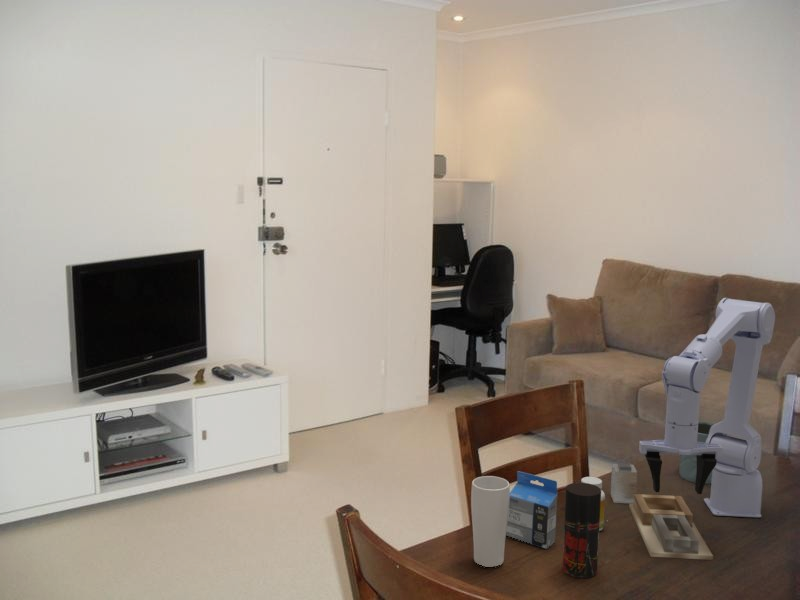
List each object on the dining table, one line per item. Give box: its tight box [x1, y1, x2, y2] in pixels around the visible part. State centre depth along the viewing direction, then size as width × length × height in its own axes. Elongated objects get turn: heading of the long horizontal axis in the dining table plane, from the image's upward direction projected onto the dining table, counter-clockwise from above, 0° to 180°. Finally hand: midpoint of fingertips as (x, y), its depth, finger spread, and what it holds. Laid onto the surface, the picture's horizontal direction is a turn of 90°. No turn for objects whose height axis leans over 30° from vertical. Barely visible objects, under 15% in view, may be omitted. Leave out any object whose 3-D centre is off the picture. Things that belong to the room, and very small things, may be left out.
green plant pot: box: [679, 420, 728, 485], centre depth 185 cm, size 10×10×12 cm
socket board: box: [628, 493, 714, 561], centre depth 157 cm, size 11×22×3 cm, turn 174°
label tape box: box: [506, 470, 558, 549], centre depth 153 cm, size 9×4×12 cm, turn 53°
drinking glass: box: [470, 475, 511, 568], centre depth 144 cm, size 7×7×15 cm
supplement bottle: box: [580, 476, 606, 532], centre depth 159 cm, size 5×5×10 cm
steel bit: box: [610, 462, 638, 504], centre depth 173 cm, size 4×4×8 cm
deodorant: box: [562, 482, 602, 579], centre depth 141 cm, size 6×6×15 cm
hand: (677, 491), depth 151 cm, fingers open, 7 cm apart
